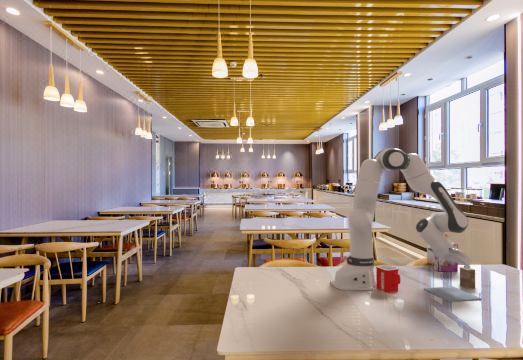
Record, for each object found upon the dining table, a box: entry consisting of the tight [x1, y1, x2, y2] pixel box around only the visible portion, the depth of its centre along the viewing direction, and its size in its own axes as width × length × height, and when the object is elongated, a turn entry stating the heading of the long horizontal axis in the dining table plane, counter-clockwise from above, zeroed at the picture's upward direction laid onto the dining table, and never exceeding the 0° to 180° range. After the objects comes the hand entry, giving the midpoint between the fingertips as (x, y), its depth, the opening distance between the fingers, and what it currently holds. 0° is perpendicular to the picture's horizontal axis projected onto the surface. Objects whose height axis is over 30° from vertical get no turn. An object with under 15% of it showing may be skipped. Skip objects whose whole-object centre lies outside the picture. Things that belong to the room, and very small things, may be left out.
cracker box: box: [426, 232, 449, 266], centre depth 193 cm, size 14×6×21 cm, turn 179°
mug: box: [375, 264, 401, 294], centre depth 148 cm, size 12×8×11 cm
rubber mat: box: [423, 285, 482, 303], centre depth 143 cm, size 16×16×1 cm
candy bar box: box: [433, 242, 459, 273], centre depth 181 cm, size 11×5×16 cm, turn 84°
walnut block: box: [459, 266, 476, 289], centre depth 153 cm, size 4×5×9 cm
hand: (460, 265), depth 152 cm, fingers open, 8 cm apart
